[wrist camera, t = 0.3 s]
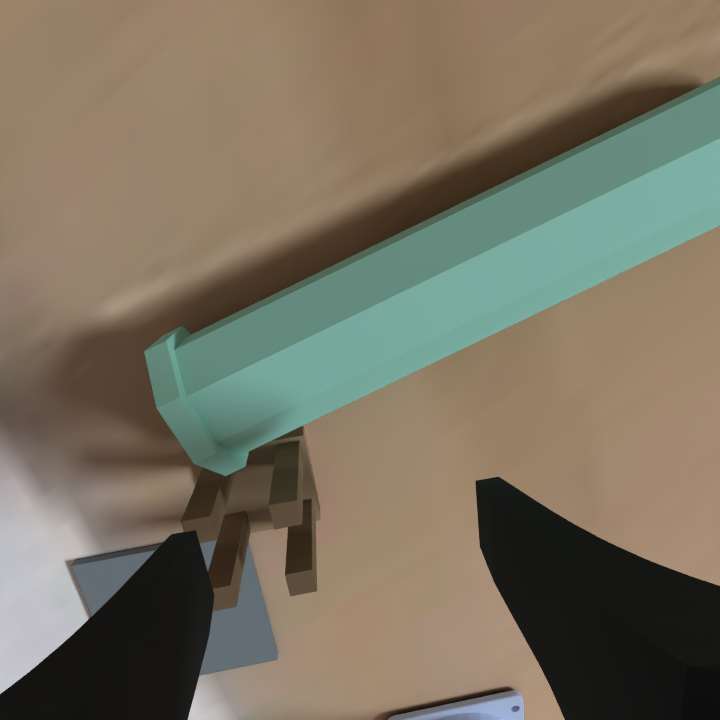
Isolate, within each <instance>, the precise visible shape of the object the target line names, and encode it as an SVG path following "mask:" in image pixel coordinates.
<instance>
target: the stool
mask: <svg viewBox="0 0 720 720" xmlns="http://www.w3.org/2000/svg"><path fill="white" fill-rule="evenodd" d="M317 520H320V505H319V501H318V496H317V491H316V486H315V481H314V476H313V471H312V466H311V461H310V456H309V451H308V446H307V441H306V436H305V431H304V426H302V427H299V428H297V429H294V430H292V431H290V432H288V433H286V434H284V435H282V436H280V437H278V438H276V439H274V440H272V441H269V442H267V443H265V444H263V445H261V446H259V447H257V448H255V449H253V450H251V451H249V453H248V458H247V463H246V467H244V468H241V469H239V470H237V471H235V472H233V473H231V474H229V475H227V476H224V475H221V474H219V473H216V472H214V471H211V470H208V469H206V468H203V469H202V472H201V474H200V477H199V479H198V481H197V484H196V486H195V489H194V491H193V494H192V496H191V498H190V501H189V503H188V506H187V508H186V511H185V513H184V515H183V518H182V520H181V523H182V527H183V530H184V532H188V531H194V530H196V532H197V536H198V539H199V543H205V542H210V541H215V540H217V541H216V545H215V549H214V552H213V556H212V559H211V563H210V566H209V570H208V574H209V578H210V581H211V585H212V588H213V592H214V604H213V611H218V610H223V609H228V608H234V607H237V602H238V596H239V591H240V585H241V580H242V574H243V569H244V563H245V558H246V553H247V547H248V542H249V536H250V533H253V532H258V531H264V530H269V529H279V528H285V527H288V539H287V554H286V569H285V576H286V581H287V585H288V589H289V593H290V596H295V595H300V594H305V593H310V592H315V591H317V569H316V521H317Z"/></svg>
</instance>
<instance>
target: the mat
mask: <svg viewBox="0 0 720 720" xmlns="http://www.w3.org/2000/svg"><path fill="white" fill-rule="evenodd" d="M216 541H217V540H215V541H210V542H205V543H200V546H201V550H202V553H203V557H204V560H205V564H206V567H207V571H208V570H209V566H210V563H211V559H212V556H213V552H214V549H215V545H216ZM160 545H161V544H158V545H153V546H147V547H142V548H137V549H131V550H126V551H121V552H115V553H110V554H105V555H100V556H94V557H89V558H84V559H78V560H75V561H74V562H73V564H72V565H71V567H72V570H73V572H74V575H75V577H76V579H77V582H78V584H79V587H80V589H81V591H82V594H83V596H84V599H85V601H86V603H87V606H88V608H89V611H90V613H91V615H92V616H93V615H94V614H95V613H96V612H97V611H98V610H99V609H100V608H101V607H102V606H103V605H104V604H105V603H106V602H107V601H108V600H109V599H110V598H111V597H112V596H113V595H114V594H115V593H116V592H117V591H118V590H119V589H120V588H121V587H122V586H123V585H124V584H125V583H126V582H127V581H128V579H129V578H130V577H131V576H132V575H133V574H134V573H135V572H136V571H137V570H138V569H139V568H140V567H141V566H142V565H143V564H144V562H145V561H146V560H147V559H148V558H149V557H150V556H151V555H152V554H153V553H154V552H155V551H156V550H157V549H158V547H159V546H160ZM277 658H278V652H277V648H276V644H275V640H274V637H273V633H272V629H271V625H270V622H269V618H268V614H267V610H266V606H265V603H264V599H263V595H262V591H261V588H260V584H259V580H258V576H257V573H256V569H255V565H254V561H253V557H252V554H251V550H250V546H249V542H248V547H247V553H246V558H245V563H244V569H243V574H242V580H241V585H240V591H239V596H238V602H237V607H234V608H228V609H223V610H218V611H213V612H212V620H211V627H210V633H209V639H208V643H207V647H206V651H205V655H204V659H203V662H202V666H201V670H200V674H199V676H200V675H205V674H210V673H215V672H219V671H224V670H229V669H234V668H239V667H244V666H249V665H254V664H259V663H264V662H269V661H274V660H277Z"/></svg>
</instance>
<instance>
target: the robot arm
mask: <svg viewBox="0 0 720 720" xmlns="http://www.w3.org/2000/svg"><path fill="white" fill-rule="evenodd" d="M476 495H477V510H478V525H479V539H480V548H481V550H482V553H483V555H484V558H485V560H486V563H487V566H488V568H489V570H490V573H491V575H492V578H493V580H494V583H495V584H496V586H497V588H498V590H499V592H500V594H501V596H502V597H503V599H504V601H505V603H506V605H507V607H508V608H509V610H510V612H511V614H512V616H513V618H514V619H515V621H516V623H517V625H518V627H519V628H520V630H521V632H522V634H523V636H524V638H525V639H526V641H527V643H528V645H529V647H530V648H531V650H532V652H533V654H534V656H535V657H536V659H537V661H538V663H539V665H540V667H541V669H542V671H543V673H544V675H545V677H546V679H547V681H548V683H549V685H550V687H551V689H552V691H553V693H554V696H555V698H556V700H557V703H558V705H559V707H560V709H561V712H562V714H563V716H564V719H565V720H720V586H718V585H715V584H712V583H709V582H706V581H703V580H700V579H697V578H694V577H691V576H688V575H685V574H683V573H680V572H677V571H675V570H672V569H669V568H667V567H664V566H661V565H659V564H656V563H654V562H651V561H649V560H646V559H644V558H642V557H639V556H637V555H635V554H633V553H631V552H628V551H626V550H624V549H622V548H619V547H617V546H615V545H613V544H611V543H609V542H607V541H605V540H603V539H601V538H599V537H597V536H595V535H593V534H591V533H590V532H588V531H586V530H584V529H582V528H580V527H578V526H577V525H575V524H573V523H571V522H570V521H568V520H566V519H564V518H563V517H561V516H559V515H558V514H556V513H554V512H553V511H551V510H549V509H548V508H546V507H545V506H543V505H541V504H540V503H538V502H537V501H535V500H534V499H532V498H531V497H529V496H527V495H526V494H524V493H523V492H521V491H520V490H518V489H517V488H515V487H514V486H512V485H511V484H509V483H508V482H506V481H504V480H503V479H501V478H500V477H495V478H489V479H483V480H478V481H476ZM213 604H214V592H213V588H212V585H211V581H210V578H209V574H208V571H207V567H206V564H205V560H204V557H203V553H202V550H201V546H200V543H199V539H198V536H197V532H196V530H194V531H188V532H182V533H177V534H171V535H170V536H169V537H168V538H167V539H166V540H165V541H164V542H163V543H162V544H161V545H160V546H159V547H158V549H157V550H156V551H155V552H154V553H153V554H152V555H151V556H150V557H149V558H148V559H147V560H146V561H145V562H144V564H143V565H142V566H141V567H140V568H139V569H138V570H137V571H136V572H135V573H134V574H133V575H132V576H131V577H130V578H129V579H128V581H127V582H126V583H125V584H124V585H123V586H122V587H121V588H120V589H119V590H118V591H117V592H116V593H115V594H114V595H113V596H112V597H111V598H110V599H109V600H108V601H107V602H106V603H105V604H104V605H103V606H102V607H101V608H100V609H99V610H98V611H97V612H96V613H95V614H94V615H93V616H92V617H91V618H90V619H89V620H88V621H87V622H86V623H85V624H83V625H82V626H81V627H80V628H79V629H78V630H77V631H76V632H75V633H74V634H73V635H72V636H71V637H70V638H69V639H67V640H66V641H65V642H64V643H63V644H62V645H61V646H60V647H58V648H57V649H56V650H55V651H54V652H53V653H51V654H50V655H49V656H48V657H47V658H45V659H44V660H43V661H42V662H41V663H40V664H38V665H37V666H36V667H35V668H34V669H32V670H31V671H30V672H29V673H27V674H26V675H25V676H24V677H22V678H21V679H20V680H18V681H17V682H16V683H14V684H13V685H12V686H11V687H9V688H8V689H7V690H5V691H4V692H3V693H1V694H0V720H187V719H188V716H189V712H190V708H191V704H192V700H193V697H194V693H195V689H196V685H197V682H198V678H199V674H200V670H201V666H202V662H203V659H204V655H205V651H206V647H207V643H208V639H209V633H210V627H211V620H212V612H213ZM388 720H524V709H523V699H522V696H521V694H520V692H518V691H516V690H512V691H507V692H502V693H498V694H493V695H488V696H484V697H479V698H474V699H469V700H465V701H460V702H455V703H451V704H446V705H441V706H436V707H432V708H427V709H422V710H418V711H413V712H408V713H404V714H399V715H394V716H391V717H390V718H388Z"/></svg>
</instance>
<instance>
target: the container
mask: <svg viewBox="0 0 720 720" xmlns="http://www.w3.org/2000/svg"><path fill="white" fill-rule="evenodd" d="M718 226H720V77H719V78H716V79H714V80H712V81H710V82H708V83H706V84H704V85H702V86H700V87H698V88H696V89H694V90H692V91H690V92H688V93H686V94H684V95H682V96H680V97H677V98H675V99H673V100H671V101H669V102H667V103H665V104H663V105H661V106H659V107H657V108H655V109H653V110H651V111H649V112H647V113H645V114H643V115H641V116H638V117H636V118H634V119H632V120H630V121H628V122H626V123H624V124H622V125H620V126H618V127H616V128H614V129H612V130H610V131H608V132H606V133H604V134H602V135H599V136H597V137H595V138H593V139H591V140H589V141H587V142H585V143H583V144H581V145H579V146H577V147H575V148H573V149H571V150H569V151H567V152H565V153H563V154H560V155H558V156H556V157H554V158H552V159H550V160H548V161H546V162H544V163H542V164H540V165H538V166H536V167H534V168H532V169H530V170H528V171H526V172H524V173H521V174H519V175H517V176H515V177H513V178H511V179H509V180H507V181H505V182H503V183H501V184H499V185H497V186H495V187H493V188H491V189H489V190H487V191H485V192H482V193H480V194H478V195H476V196H474V197H472V198H470V199H468V200H466V201H464V202H462V203H460V204H458V205H456V206H454V207H452V208H450V209H448V210H446V211H443V212H441V213H439V214H437V215H435V216H433V217H431V218H429V219H427V220H425V221H423V222H421V223H419V224H417V225H415V226H413V227H411V228H409V229H407V230H404V231H402V232H400V233H398V234H396V235H394V236H392V237H390V238H388V239H386V240H384V241H382V242H380V243H378V244H376V245H374V246H372V247H370V248H368V249H365V250H363V251H361V252H359V253H357V254H355V255H353V256H351V257H349V258H347V259H345V260H343V261H341V262H339V263H337V264H335V265H333V266H331V267H329V268H326V269H324V270H322V271H320V272H318V273H316V274H314V275H312V276H310V277H308V278H306V279H304V280H302V281H300V282H298V283H296V284H294V285H292V286H290V287H287V288H285V289H283V290H281V291H279V292H277V293H275V294H273V295H271V296H269V297H267V298H265V299H263V300H261V301H259V302H257V303H255V304H253V305H251V306H248V307H246V308H244V309H242V310H240V311H238V312H236V313H234V314H232V315H230V316H228V317H226V318H224V319H222V320H220V321H218V322H216V323H214V324H212V325H209V326H207V327H205V328H203V329H201V330H199V331H197V332H195V333H193V334H191V333H190V332H189V331H188V330H186V329H185V328H184V327H183V326H181V327H179V328H177V329H175V330H172V331H170V332H168V333H166V334H164V335H162V336H161V337H160V338H159V339H158V340H157V341H156V342H154V343H153V344H152V345H151V346H150V347H149V348H148V349H146V350H145V351H144V353H145V358H146V363H147V367H148V372H149V376H150V381H151V386H152V390H153V395H154V399H155V404H156V408H157V410H158V411H159V413H160V414H161V416H162V417H163V419H164V420H165V422H166V423H167V425H168V426H169V428H170V429H171V431H172V432H173V434H174V435H175V437H176V438H177V440H178V441H179V443H180V444H181V446H182V447H183V448H184V450H185V451H186V453H187V454H188V456H189V457H190V459H191V460H192V462H193V463H194V464H195V465H198V466H200V467H203V468H206V469H208V470H211V471H214V472H216V473H219V474H221V475H224V476H227V475H229V474H231V473H233V472H235V471H237V470H239V469H241V468H244V467H246V463H247V458H248V453H249V451H251V450H253V449H255V448H257V447H259V446H261V445H263V444H265V443H267V442H269V441H272V440H274V439H276V438H278V437H280V436H282V435H284V434H286V433H288V432H290V431H292V430H294V429H297V428H299V427H301V426H303V425H305V424H307V423H309V422H311V421H313V420H315V419H317V418H319V417H322V416H324V415H326V414H328V413H330V412H332V411H334V410H336V409H338V408H340V407H342V406H344V405H347V404H349V403H351V402H353V401H355V400H357V399H359V398H361V397H363V396H365V395H367V394H369V393H372V392H374V391H376V390H378V389H380V388H382V387H384V386H386V385H388V384H390V383H392V382H394V381H397V380H399V379H401V378H403V377H405V376H407V375H409V374H411V373H413V372H415V371H417V370H420V369H422V368H424V367H426V366H428V365H430V364H432V363H434V362H436V361H438V360H440V359H442V358H445V357H447V356H449V355H451V354H453V353H455V352H457V351H459V350H461V349H463V348H465V347H467V346H470V345H472V344H474V343H476V342H478V341H480V340H482V339H484V338H486V337H488V336H490V335H492V334H495V333H497V332H499V331H501V330H503V329H505V328H507V327H509V326H511V325H513V324H515V323H517V322H520V321H522V320H524V319H526V318H528V317H530V316H532V315H534V314H536V313H538V312H540V311H542V310H545V309H547V308H549V307H551V306H553V305H555V304H557V303H559V302H561V301H563V300H565V299H567V298H570V297H572V296H574V295H576V294H578V293H580V292H582V291H584V290H586V289H588V288H590V287H592V286H595V285H597V284H599V283H601V282H603V281H605V280H607V279H609V278H611V277H613V276H615V275H617V274H620V273H622V272H624V271H626V270H628V269H630V268H632V267H634V266H636V265H638V264H640V263H643V262H645V261H647V260H649V259H651V258H653V257H655V256H657V255H659V254H661V253H663V252H665V251H668V250H670V249H672V248H674V247H676V246H678V245H680V244H682V243H684V242H686V241H688V240H690V239H693V238H695V237H697V236H699V235H701V234H703V233H705V232H707V231H709V230H711V229H713V228H715V227H718Z"/></svg>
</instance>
